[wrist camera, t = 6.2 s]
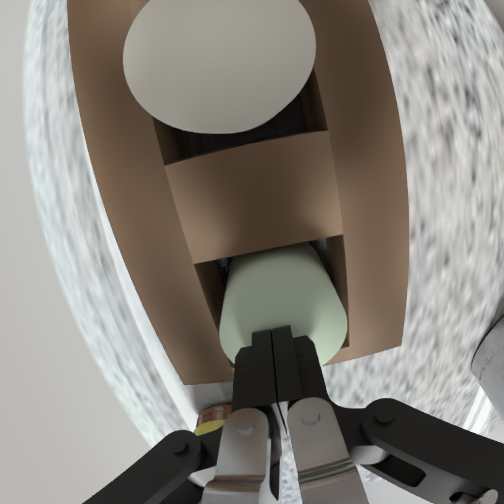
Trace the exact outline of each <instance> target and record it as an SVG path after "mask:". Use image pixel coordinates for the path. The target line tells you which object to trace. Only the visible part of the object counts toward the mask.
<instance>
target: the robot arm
mask: <svg viewBox="0 0 504 504" xmlns="http://www.w3.org/2000/svg"><path fill="white" fill-rule="evenodd" d="M234 369H235V370H234V382H233V400H232V412H231V414H230V415H229V416H228V417H227V419H226V420H225V422H224V425H223V426H221V427H220V428H218V429H216V430H214V431H211V432H208V433H205V434H202V435H199V436H197V435H196V434H194V433H193V432H191V431H187V430H178V431H174V432H172V433H170V434H168V435H167V436H166V437H165V438H163V439H162V440H161V441H160V442H159V443H158V444H157V445H155V446H154V447H153V448H152V449H151V450H150V451H148V452H147V453H146V454H145V455H144V456H143V457H141V458H140V459H139V460H138V461H137V462H135V463H134V464H133V465H132V466H131V467H129V468H128V469H127V470H126V471H125V472H123V473H122V474H121V475H120V476H118V477H117V478H116V479H114V480H113V481H112V482H110V483H109V484H108V485H107V486H105V487H104V488H103V489H101V490H100V491H99V492H97V493H96V494H95V495H93V496H92V497H91V498H89V499H88V500H86V501H85V502H84V503H82V504H282V500H281V498H282V447H281V439H284V438H288V436H287V431H288V434H289V437H290V438H291V443H292V448H293V453H294V458H295V462H296V467H297V472H298V482H299V487H300V492H301V497H302V502H303V504H369V502H368V499H367V496H366V493H365V491H364V487H363V484H362V481H361V478H360V475H359V472H358V470H357V468H356V466H355V464H360V465H361V466H362V467H364V468H366V469H367V470H369V471H371V472H372V473H374V474H376V475H378V476H380V477H381V478H383V479H385V480H387V481H389V482H391V483H392V484H395V485H396V486H398V487H400V488H402V489H404V490H406V491H408V492H410V493H412V494H414V495H416V496H419V497H421V498H423V499H425V500H427V501H429V502H431V503H434V504H504V444H503V443H500V442H497V441H495V440H492V439H489V438H486V437H484V436H481V435H478V434H476V433H473V432H470V431H468V430H465V429H463V428H460V427H458V426H455V425H453V424H450V423H448V422H445V421H443V420H441V419H438V418H436V417H433V416H431V415H429V414H427V413H424V412H422V411H420V410H417V409H415V408H413V407H411V406H409V405H406V404H404V403H402V402H400V401H398V400H395V399H391V398H382V399H378V400H375V401H373V402H371V403H370V404H369V405H368V406H367V407H366V408H344V407H341V406H338V405H336V404H335V403H334V402H332V401H331V399H330V398H329V396H328V394H327V390H326V386H325V382H324V378H323V374H322V370H321V366H320V363H319V359H318V355H317V351H316V347H315V344H314V342H313V341H312V340H311V339H310V338H309V337H308V336H307V335H303V336H299V337H294V338H293V335H292V331H291V326H290V325H287V326H282V327H277V328H272V331H271V329H267V330H262V331H257V332H252V346H247V347H241V348H240V350H239V352H238V353H237V355H236V357H235V365H234ZM472 373H473V375H474V376H475V378H476V379H477V381H478V382H479V384H480V385H481V387H482V388H483V390H484V392H485V393H486V395H487V396H488V398H489V400H490V402H491V403H492V405H493V407H494V408H495V410H496V412H497V413H498V415H499V417H500V418H501V420H502V422H503V424H504V317H503V318H502V319H501V320H500V321H499V322H498V323H497V324H496V325H495V326H494V327H493V329H492V330H491V331H490V332H489V334H488V335H487V336H486V338H485V339H484V341H483V342H482V344H481V345H480V347H479V349H478V351H477V353H476V355H475V357H474V359H473V363H472Z"/></svg>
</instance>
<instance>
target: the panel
mask: <svg viewBox="0 0 504 504" xmlns="http://www.w3.org/2000/svg"><path fill="white" fill-rule="evenodd" d="M149 1H150V0H67V12H68V31H69V44H70V54H71V62H72V70H73V77H74V84H75V90H76V96H77V102H78V107H79V112H80V117H81V122H82V127H83V131H84V136H85V140H86V144H87V148H88V152H89V156H90V160H91V164H92V167H93V171H94V175H95V178H96V182H97V185H98V188H99V192H100V195H101V198H102V201H103V204H104V207H105V210H106V213H107V216H108V219H109V222H110V225H111V228H112V231H113V234H114V236H115V239H116V242H117V244H118V247H119V250H120V252H121V255H122V258H123V260H124V263H125V265H126V268H127V270H128V272H129V275H130V277H131V280H132V282H133V284H134V287H135V289H136V291H137V294H138V296H139V298H140V300H141V302H142V305H143V307H144V309H145V311H146V313H147V315H148V318H149V320H150V322H151V324H152V326H153V328H154V330H155V332H156V334H157V336H158V338H159V340H160V342H161V344H162V346H163V348H164V350H165V352H166V353H167V355H168V357H169V359H170V361H171V363H172V365H173V366H174V368H175V370H176V372H177V374H178V375H179V377H180V379H181V381H182V382H183V384H184V385H193V384H206V383H217V382H227V381H234V370H235V369H234V365H235V364H234V363H233V362H232V361H231V360H230V359H229V358H228V357H227V355H226V354H225V352H224V350H223V348H222V346H221V343H220V337H219V329H220V322H221V316H222V309H223V303H224V297H225V291H226V290H225V286H224V283H223V280H222V276H221V273H220V270H219V266H218V263H217V260H216V259H221V258H226V257H231V256H236V255H241V254H246V253H251V252H256V251H261V250H266V249H271V248H276V247H281V246H286V245H291V244H296V243H301V242H306V241H311V240H316V239H321V238H325V240H326V248H327V256H328V265H329V275H330V280H331V282H332V284H333V286H334V288H335V291H336V293H337V295H338V297H339V299H340V301H341V304H342V306H343V308H344V310H345V313H346V316H347V333H346V337H345V339H344V342H343V344H342V346H341V348H340V349H339V350H338V352H337V353H336V354H335V355H334V356H333V357H332V359H330V360H329V361H328V362H327V363H326V364H324V365H323V366H326V365H330V364H335V363H339V362H343V361H348V360H352V359H356V358H359V357H363V356H367V355H371V354H374V353H378V352H381V351H385V350H388V349H391V348H395V347H398V346H401V343H402V336H403V328H404V320H405V310H406V300H407V286H408V268H409V206H408V188H407V174H406V164H405V154H404V146H403V138H402V131H401V125H400V119H399V113H398V107H397V102H396V97H395V92H394V87H393V83H392V78H391V74H390V70H389V66H388V62H387V58H386V55H385V51H384V47H383V44H382V41H381V37H380V34H379V31H378V28H377V25H376V22H375V19H374V16H373V13H372V10H371V8H370V5H369V2H368V0H298V1H299V2H300V3H301V4H302V6H303V7H304V9H305V10H306V12H307V14H308V15H309V17H310V20H311V22H312V25H313V28H314V33H315V38H316V53H315V60H314V64H313V68H312V71H311V73H310V75H309V77H308V80H307V81H306V83H305V85H304V86H303V88H302V89H301V91H300V92H299V94H300V98H301V102H302V107H303V111H304V116H305V120H306V125H307V130H308V131H305V132H299V133H293V134H287V135H281V136H276V137H271V138H265V139H260V140H256V141H251V142H246V143H242V144H237V145H233V146H229V147H224V148H220V149H216V150H212V151H208V152H204V153H200V154H197V155H193V156H189V157H188V154H187V150H186V147H185V143H184V139H183V135H182V130H181V129H178V128H175V127H172V126H170V125H168V124H166V123H163V122H161V121H160V120H158V119H157V118H155V117H154V116H152V115H151V114H150V113H149V112H147V111H146V110H145V109H144V108H143V107H142V106H141V105H140V104H139V102H138V101H137V100H136V99H135V97H134V95H133V94H132V92H131V90H130V88H129V86H128V84H127V81H126V77H125V74H124V67H123V51H124V45H125V40H126V37H127V34H128V31H129V29H130V27H131V25H132V23H133V21H134V20H135V18H136V17H137V15H138V14H139V12H140V11H141V10H142V8H143V7H144V6H145V5H146V4H147V3H148V2H149Z"/></svg>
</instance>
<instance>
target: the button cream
mask: <svg viewBox="0 0 504 504" xmlns="http://www.w3.org/2000/svg"><path fill="white" fill-rule="evenodd" d="M315 53H316V38H315V33H314V28H313V25H312V22H311V20H310V17H309V15H308V14H307V12H306V10H305V9H304V7H303V6H302V4H301V3H300V2H299V1H298V0H150V1H149V2H148V3H147V4H146V5H145V6H144V7H143V8H142V10H141V11H140V12H139V14H138V15H137V17H136V18H135V20H134V21H133V23H132V25H131V27H130V29H129V31H128V34H127V37H126V40H125V45H124V51H123V67H124V74H125V77H126V81H127V84H128V86H129V88H130V90H131V92H132V94H133V95H134V97H135V99H136V100H137V101H138V102H139V104H140V105H141V106H142V107H143V108H144V109H145V110H146V111H147V112H149V113H150V114H151V115H152V116H154V117H155V118H157V119H158V120H160V121H161V122H163V123H166V124H168V125H170V126H172V127H175V128H178V129H182V130H185V131H190V132H196V133H210V134H233V133H241V132H246V131H249V130H252V129H255V128H257V127H259V126H261V125H263V124H265V123H266V122H268V121H269V120H270V119H272V118H273V117H274V116H275V115H276V114H277V113H279V112H280V111H281V110H282V109H283V108H284V107H286V106H287V105H288V104H289V103H290V102H291V101H292V100H293V99H294V98H295V97H296V96H297V94H298V93H299V92H300V91H301V89H302V88H303V86H304V85H305V83H306V81H307V80H308V77H309V75H310V73H311V71H312V68H313V64H314V60H315Z"/></svg>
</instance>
